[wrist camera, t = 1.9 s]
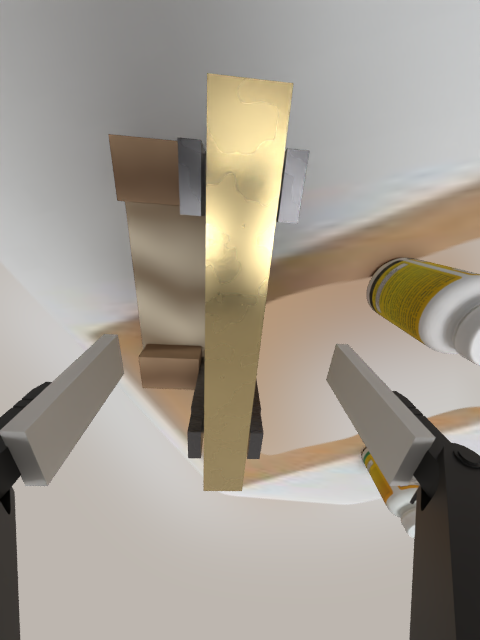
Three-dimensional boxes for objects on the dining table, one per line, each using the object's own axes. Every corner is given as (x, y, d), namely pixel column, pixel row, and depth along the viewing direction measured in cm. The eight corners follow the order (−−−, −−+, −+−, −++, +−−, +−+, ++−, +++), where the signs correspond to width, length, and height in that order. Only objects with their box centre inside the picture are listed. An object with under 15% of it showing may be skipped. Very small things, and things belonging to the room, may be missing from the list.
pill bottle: (363, 318, 26) (449, 386, 16) (364, 264, 23) (467, 303, 13) (420, 306, 25) (545, 368, 15) (427, 250, 23) (584, 278, 13)
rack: (202, 167, 19) (174, 122, 10) (273, 174, 19) (314, 136, 10) (201, 379, 28) (187, 462, 19) (250, 380, 29) (259, 462, 19)
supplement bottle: (384, 435, 34) (438, 511, 25) (401, 451, 35) (457, 528, 27) (353, 452, 35) (394, 531, 26) (371, 467, 37) (414, 546, 28)
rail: (214, 117, 11) (207, 73, 8) (273, 123, 12) (293, 83, 8) (208, 444, 21) (203, 490, 18) (240, 444, 22) (241, 490, 18)
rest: (120, 145, 18) (100, 133, 16) (208, 153, 19) (204, 143, 16) (147, 370, 27) (137, 387, 25) (206, 372, 28) (203, 389, 25)
